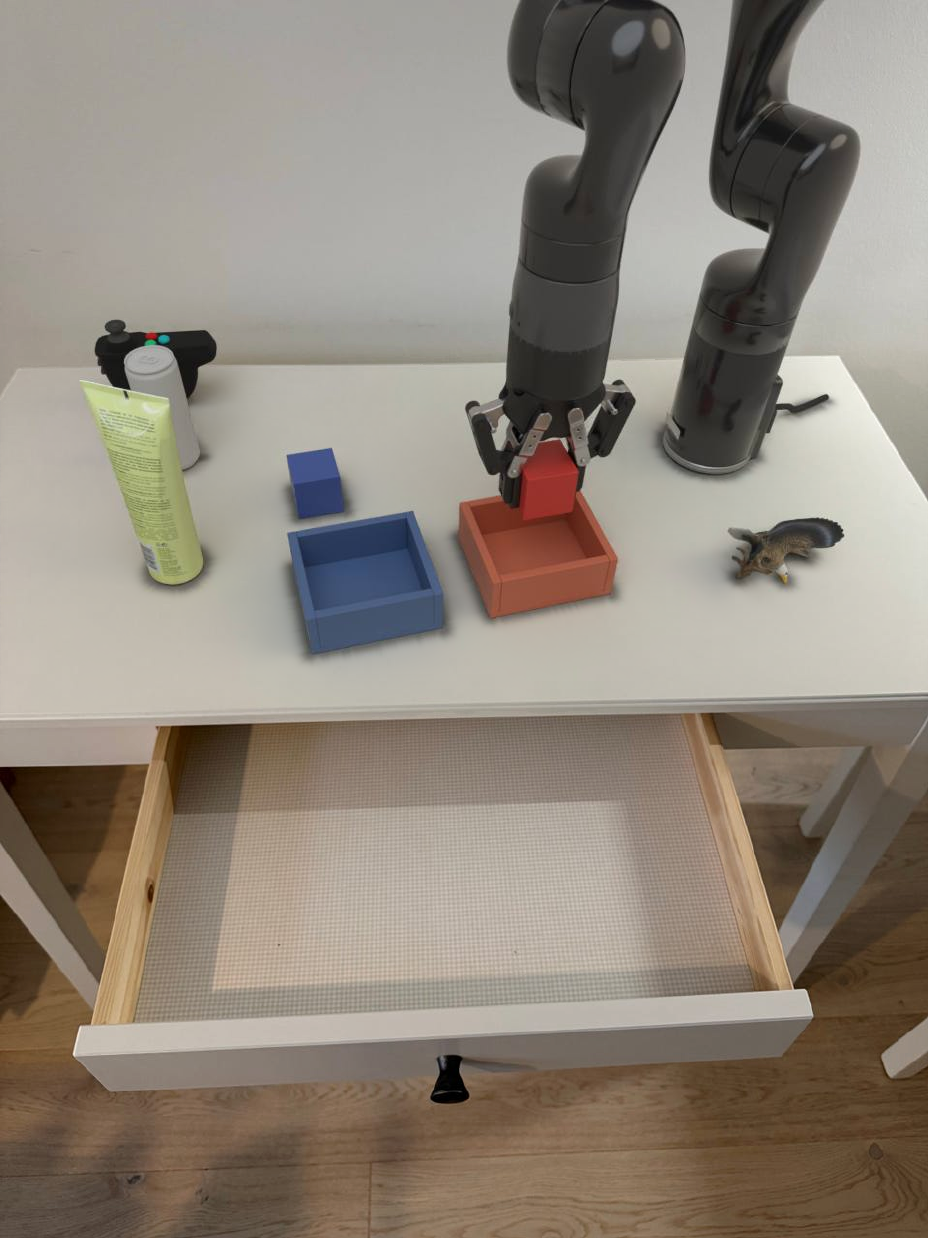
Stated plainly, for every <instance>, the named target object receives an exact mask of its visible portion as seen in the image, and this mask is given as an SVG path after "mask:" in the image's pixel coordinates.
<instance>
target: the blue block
mask: <svg viewBox="0 0 928 1238" xmlns="http://www.w3.org/2000/svg"><path fill="white" fill-rule="evenodd" d="M285 458H286V461H287V468H288V474H289V480H290V486H291V487H290V488H291V491H292V496H293V500H294V504H295V508H296V513H297V516H298V519H299V520H302V519H308V518H313V517H319V516H325V515H331V514H336V513H343V512H345V505H344V498H343V488H342V479H341V474H340V471H339V466H338V463H337V460H336V457H335V454H334V450H333V447H328V448H327V447H326V448H321V449H314V450H309V451H303V452H296V453H290V454H289V453H288V454H286V457H285Z"/></svg>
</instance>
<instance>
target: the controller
mask: <svg viewBox="0 0 928 1238" xmlns="http://www.w3.org/2000/svg"><path fill="white" fill-rule="evenodd" d="M126 327H127V325H126V322H125V321H124V320H121V319H111V320H109V321H106V323H105V325H104V329H105V331H106V332H107V333H109V334H104V335H101V336H99V337H98V338H97V339H96V342H95V343H94V344H95V346H94V355H95V356H96V357H97V363H96V364H97V366H98V367H100V374H101V375H105V376H106V378H107V380H108V382H109V383H110V386H111V387H116V388H121V389H125V390H130V391H131V388H130V385H129V382H128V379H127V376H126V373H125V364H124V359H125V357H126V355H127V354H129V353H130V352H131V351H133V350H134V349H137V348H139V347H143V346H149V345H158V346H163V347H166V348H168V349H170V350H171V351H172V353H173V355H174V357H175V359H176V361H177V364H178V368H179V371H180V375H181V379H182V383H183V387H184V391H185V394H186V398H187V400H188V399H190V397H191V396H192V395H193V394H194V392H195V390H196V388H197V384H198V380H199V368H201V367H203V366H205V365H207V364H210V363H211V362H213V361H215V359H216V356H217V351H218V350H217V349H218V346H217V342H216V340H215V338H214V337H213V336H212V335H211V333H210V332H209V331H208V330H206V329H196V330H195V329H194V330H179V331H161V332H153V331H149V332H144V331H133V332H128V331H126Z"/></svg>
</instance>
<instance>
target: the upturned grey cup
mask: <svg viewBox="0 0 928 1238" xmlns="http://www.w3.org/2000/svg"><path fill="white" fill-rule="evenodd" d="M124 364H125V373H126V376H127V379H128V382H129V385H130V388H131V391H135V392H140V393H145V394H149V395H154V396H160V397H165V398H168V399H169V401H170V406H171V415H172V422H173V428H174V433H175V438H176V443H177V448H178V453H179V458H180V463H181V468H182V471H184V470H187V469H190V468H191V467H192V466H193V465H195V464H196V463H197V461H198V459H199V458H200V455H201V449H200V445H199V441H198V437H197V433H196V430H195V426H194V425H195V424H194V421H193V418H192V413H191V410H190V406H189V402H188V399H187V398H186V394H185V391H184V387H183V383H182V379H181V375H180V371H179V368H178V364H177V361H176V359H175V357H174V355H173V353H172V351H171V350H170V349H168V348H166V347H163V346H158V345H149V346H143V347H139V348H137V349H134V350H133V351H131V352H130V353H129V354H127V355H126V357H125V359H124Z"/></svg>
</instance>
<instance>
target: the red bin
mask: <svg viewBox="0 0 928 1238" xmlns="http://www.w3.org/2000/svg"><path fill="white" fill-rule="evenodd" d="M457 536H458V540H459V543H460V545H461V548H462V550H463V554H464V555H465V559H466V560H467V563H468V566H469V568H470V570H471V573H472V575H473V578H474V580H475V584H476V586H477V588H478V591H479V593H480V595H481V598H482V601H483V603H484V605H485V608H486V611H487V613H488V615H489V618H490V619H492V618H497V617H502V616H503V617H504V616H508V615H513V614H518V613H522V612H527V611H531V610H536V609H541V608H547V607H552V606H556V605H562V604H566V603H571V602H575V601H576V602H577V601H582V600H586V599H591V598H596V597H600V596H606V595H610V594H611V593H612V588H613V584H614V580H615V574H616V570H617V568H618V567H617V566H618V562H619V557H618V556H617V553H615V551H614V548H613V547H612V545H611V543H610V541H609V540H608V538H607V536H606V534H605V532H604V531H603V528H602V527H601V525H600V523H599V522H598V519H597V518H596V516H595V514H594V512H593V511H592V509H591V507H590V505H589V503H588V502H587V499H586V498H585V495H584V494H583V493H582V491H581V490H580V491H579V492H576V497H575V498H574V503H573V510H572V512H570V513H564V514H558V515H553V516H547V517H541V518H536V519H530V520H523V519H522V517H521V515H520V513H519V511H518V509H517V508H514V509H511V508H510V507H509V504H505V503H504V500H503V498H502V496H501V494H500V495H494V496H487V497H483V498H476V499H471V500H467V501H462V502H459V505H458V535H457Z"/></svg>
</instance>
